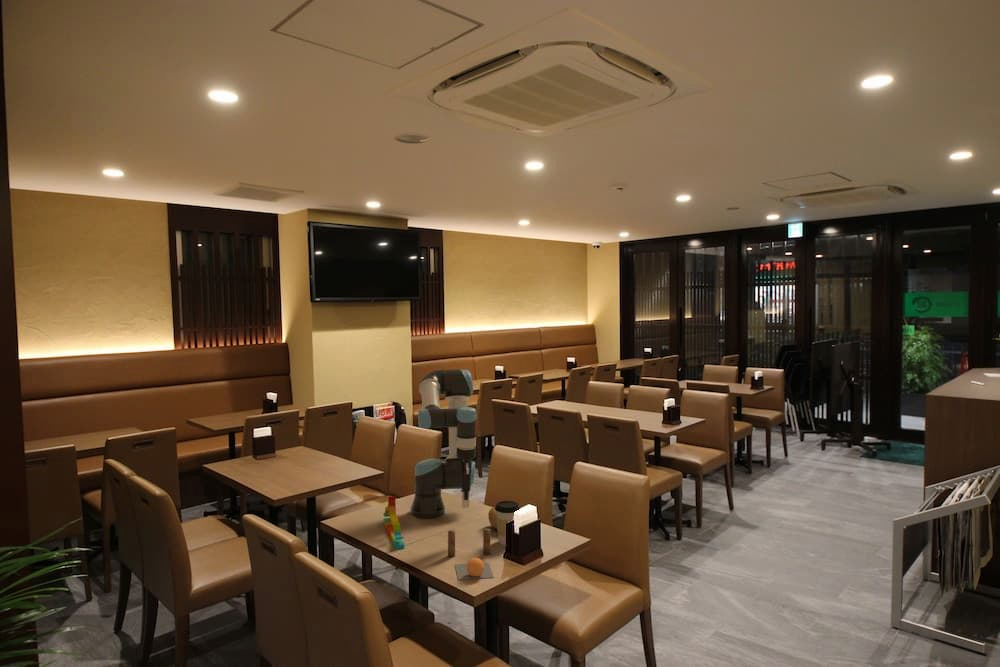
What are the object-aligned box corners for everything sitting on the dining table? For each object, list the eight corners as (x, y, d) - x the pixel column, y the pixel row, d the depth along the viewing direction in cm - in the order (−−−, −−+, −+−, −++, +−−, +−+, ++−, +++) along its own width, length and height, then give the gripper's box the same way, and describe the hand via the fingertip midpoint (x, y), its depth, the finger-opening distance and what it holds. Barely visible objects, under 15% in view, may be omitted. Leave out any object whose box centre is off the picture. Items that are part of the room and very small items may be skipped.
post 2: (482, 552, 218) (483, 528, 218) (489, 552, 219) (489, 528, 219) (483, 555, 216) (484, 531, 216) (490, 554, 216) (490, 530, 216)
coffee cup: (522, 545, 226) (523, 506, 225) (498, 548, 223) (498, 509, 222) (515, 536, 235) (515, 499, 234) (491, 538, 232) (491, 501, 232)
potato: (497, 536, 234) (497, 517, 234) (483, 525, 247) (483, 506, 247) (519, 533, 238) (519, 513, 238) (504, 521, 251) (504, 503, 251)
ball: (467, 581, 196) (465, 571, 202) (485, 579, 197) (482, 570, 203) (467, 564, 195) (465, 555, 201) (485, 563, 196) (483, 554, 202)
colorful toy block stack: (405, 549, 222) (405, 510, 221) (396, 550, 221) (396, 510, 220) (390, 522, 250) (391, 487, 250) (383, 523, 249) (383, 488, 249)
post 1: (447, 554, 216) (447, 530, 216) (454, 554, 217) (454, 530, 216) (448, 557, 214) (448, 533, 213) (455, 557, 214) (455, 532, 214)
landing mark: (454, 564, 207) (454, 564, 207) (488, 562, 209) (488, 562, 209) (458, 580, 196) (458, 579, 196) (493, 577, 198) (493, 577, 198)
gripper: (455, 443, 234) (454, 501, 235) (458, 452, 221) (457, 513, 222) (473, 443, 235) (473, 500, 236) (477, 451, 222) (477, 512, 223)
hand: (465, 506), depth 229 cm, fingers closed
